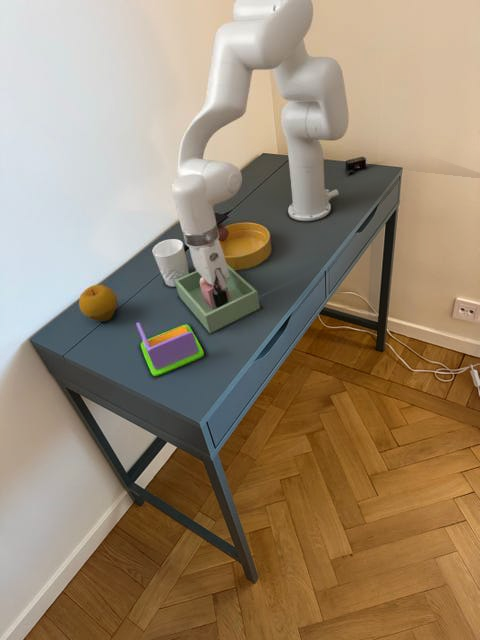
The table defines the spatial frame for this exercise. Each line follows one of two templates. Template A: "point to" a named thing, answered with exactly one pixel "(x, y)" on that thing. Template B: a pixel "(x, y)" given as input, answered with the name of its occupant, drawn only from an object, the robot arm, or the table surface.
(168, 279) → the white cup
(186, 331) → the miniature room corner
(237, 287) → the tub
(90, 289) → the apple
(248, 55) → the robot arm
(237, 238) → the bowl
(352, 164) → the wireless earbuds
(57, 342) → the table surface
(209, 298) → the toy bear
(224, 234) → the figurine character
